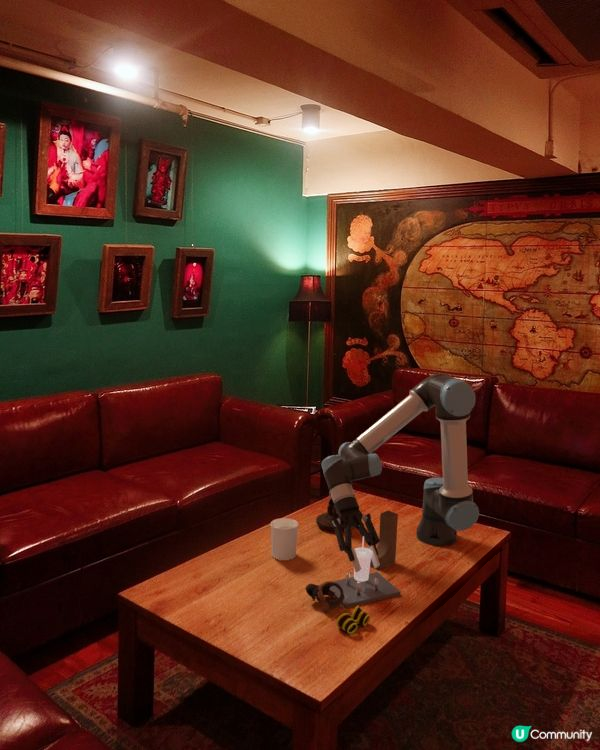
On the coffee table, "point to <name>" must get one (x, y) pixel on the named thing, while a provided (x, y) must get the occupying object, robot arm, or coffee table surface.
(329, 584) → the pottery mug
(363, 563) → the beverage cup
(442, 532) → the robot arm
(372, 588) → the cup stand
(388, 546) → the wooden block
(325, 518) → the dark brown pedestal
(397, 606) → the coffee table surface
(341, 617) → the opera glasses
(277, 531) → the candle holder
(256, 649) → the coffee table surface
